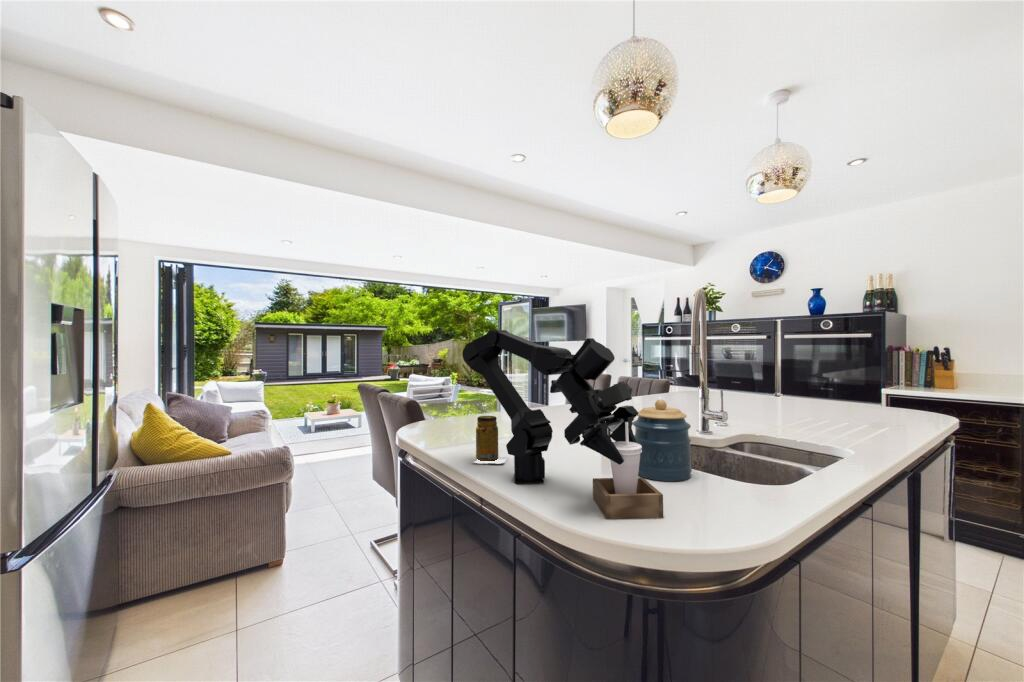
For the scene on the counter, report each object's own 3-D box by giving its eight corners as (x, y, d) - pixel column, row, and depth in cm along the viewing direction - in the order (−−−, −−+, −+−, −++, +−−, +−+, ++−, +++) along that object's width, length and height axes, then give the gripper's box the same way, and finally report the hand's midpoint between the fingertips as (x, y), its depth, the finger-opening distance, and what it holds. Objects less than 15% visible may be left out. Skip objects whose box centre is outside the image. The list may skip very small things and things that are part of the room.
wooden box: (606, 519, 72) (605, 496, 72) (593, 498, 82) (592, 478, 82) (663, 517, 72) (663, 494, 72) (643, 497, 82) (642, 477, 82)
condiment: (478, 457, 115) (478, 414, 116) (508, 458, 114) (507, 415, 114) (471, 464, 108) (471, 418, 109) (502, 465, 107) (502, 419, 107)
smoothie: (639, 505, 73) (637, 426, 73) (604, 499, 76) (601, 424, 76) (646, 493, 79) (644, 420, 79) (613, 488, 82) (611, 418, 82)
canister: (694, 484, 90) (693, 403, 90) (633, 479, 94) (631, 402, 94) (688, 468, 102) (687, 397, 103) (634, 464, 106) (633, 396, 107)
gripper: (577, 370, 74) (634, 441, 66) (629, 367, 87) (682, 426, 79) (543, 409, 79) (592, 480, 71) (597, 401, 92) (644, 459, 84)
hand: (630, 459), depth 76 cm, fingers closed on smoothie, 6 cm apart
